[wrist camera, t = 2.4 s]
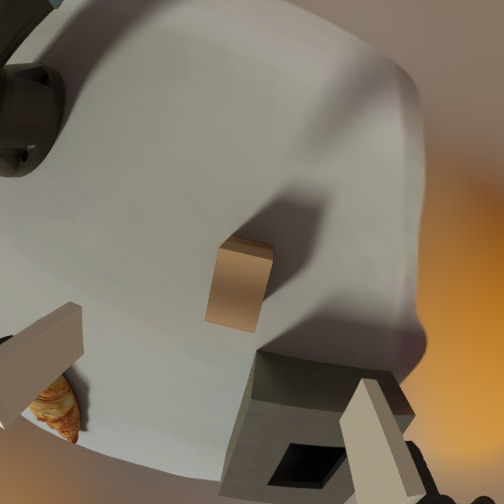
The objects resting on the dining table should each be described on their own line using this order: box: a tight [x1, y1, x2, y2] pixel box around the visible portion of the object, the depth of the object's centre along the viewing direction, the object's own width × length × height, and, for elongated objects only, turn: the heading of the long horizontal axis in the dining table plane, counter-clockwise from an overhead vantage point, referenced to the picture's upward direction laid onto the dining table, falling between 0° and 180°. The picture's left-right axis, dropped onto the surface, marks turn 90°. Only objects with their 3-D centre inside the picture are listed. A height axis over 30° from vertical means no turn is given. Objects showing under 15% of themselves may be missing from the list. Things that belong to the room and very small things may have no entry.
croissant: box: [29, 374, 81, 444], centre depth 31 cm, size 21×10×8 cm, turn 4°
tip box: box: [218, 350, 416, 504], centre depth 27 cm, size 18×16×8 cm
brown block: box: [205, 236, 273, 333], centre depth 25 cm, size 6×4×6 cm, turn 167°
